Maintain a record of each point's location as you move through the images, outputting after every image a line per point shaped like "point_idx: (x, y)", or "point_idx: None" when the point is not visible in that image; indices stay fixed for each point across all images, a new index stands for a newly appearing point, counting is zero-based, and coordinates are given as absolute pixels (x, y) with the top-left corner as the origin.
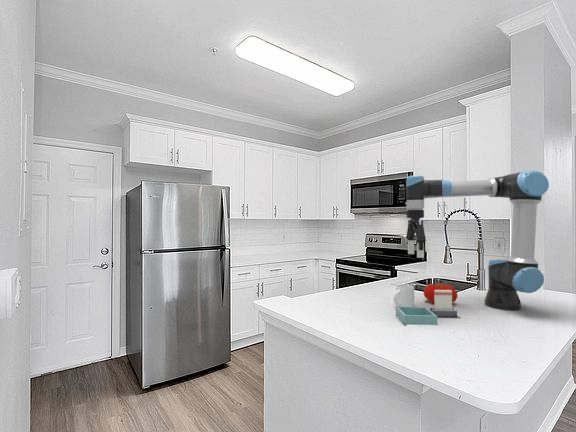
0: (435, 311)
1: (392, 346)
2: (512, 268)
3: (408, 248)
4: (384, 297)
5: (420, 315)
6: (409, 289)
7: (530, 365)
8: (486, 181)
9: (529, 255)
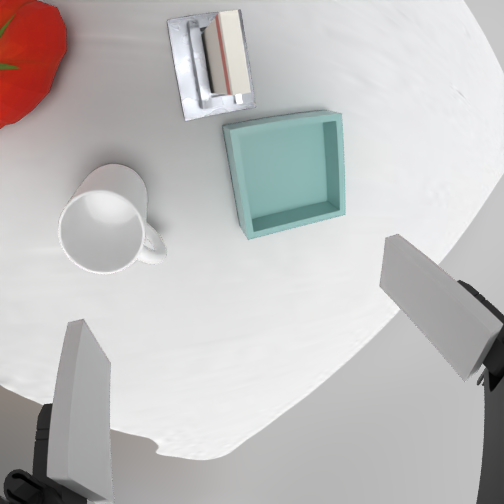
0: (241, 94)
1: (432, 231)
2: None
3: (109, 412)
4: (11, 274)
5: (341, 166)
6: (140, 210)
7: (475, 35)
8: None
9: None
